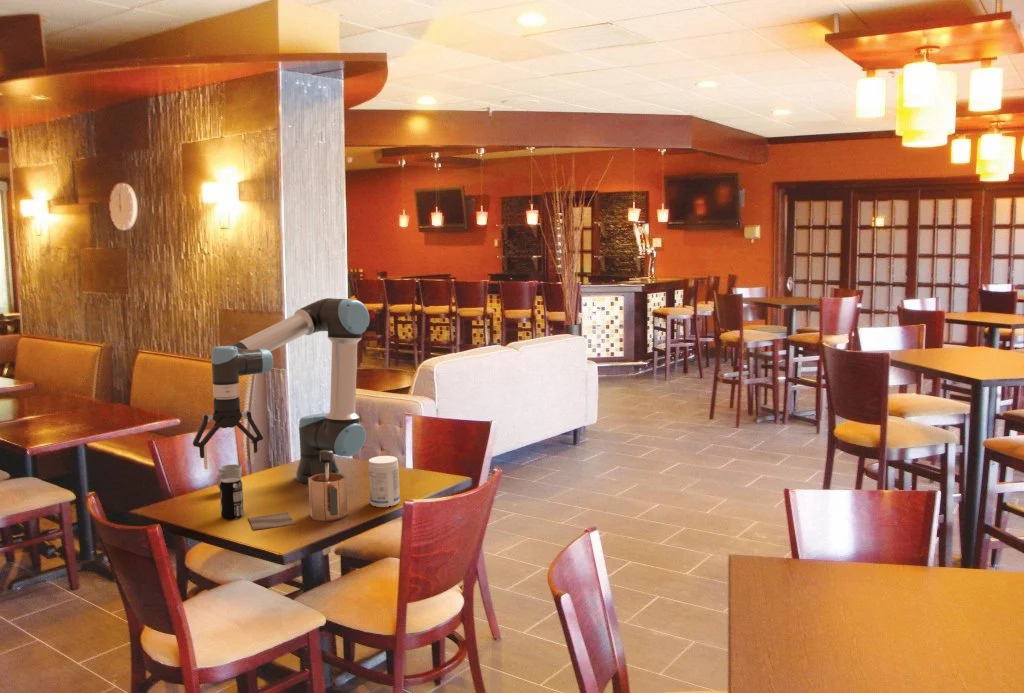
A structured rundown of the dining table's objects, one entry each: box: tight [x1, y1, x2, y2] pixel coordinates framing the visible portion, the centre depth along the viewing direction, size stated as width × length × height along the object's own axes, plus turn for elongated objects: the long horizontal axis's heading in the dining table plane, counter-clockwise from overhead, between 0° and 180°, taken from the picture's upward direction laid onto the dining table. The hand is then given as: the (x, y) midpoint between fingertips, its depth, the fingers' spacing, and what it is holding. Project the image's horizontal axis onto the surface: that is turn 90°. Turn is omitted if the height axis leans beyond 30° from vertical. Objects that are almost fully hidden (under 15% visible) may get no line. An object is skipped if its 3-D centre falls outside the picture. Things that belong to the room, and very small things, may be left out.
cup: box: [216, 463, 243, 490], centre depth 285 cm, size 8×10×8 cm
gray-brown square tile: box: [247, 512, 296, 532], centre depth 255 cm, size 12×12×1 cm
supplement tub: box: [367, 455, 401, 508], centre depth 271 cm, size 10×10×15 cm
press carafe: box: [307, 472, 349, 522], centre depth 258 cm, size 14×11×12 cm
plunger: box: [320, 450, 333, 482], centre depth 259 cm, size 8×8×17 cm
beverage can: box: [219, 477, 245, 521], centre depth 259 cm, size 7×7×12 cm
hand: (229, 465), depth 258 cm, fingers open, 13 cm apart
